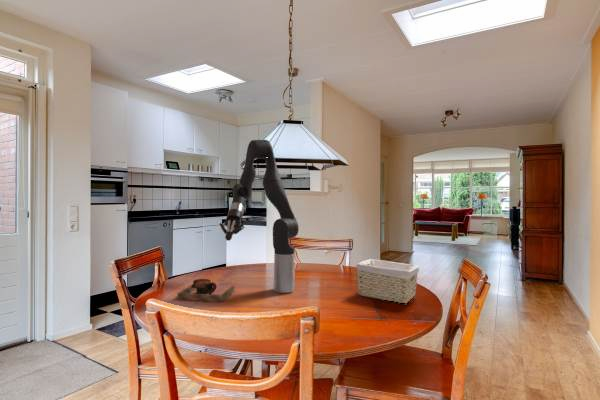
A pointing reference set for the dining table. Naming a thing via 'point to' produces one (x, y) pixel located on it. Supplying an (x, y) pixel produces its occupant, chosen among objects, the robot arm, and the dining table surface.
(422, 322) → the dining table surface
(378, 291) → the storage basket
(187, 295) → the wooden corral
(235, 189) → the robot arm
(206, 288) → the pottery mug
